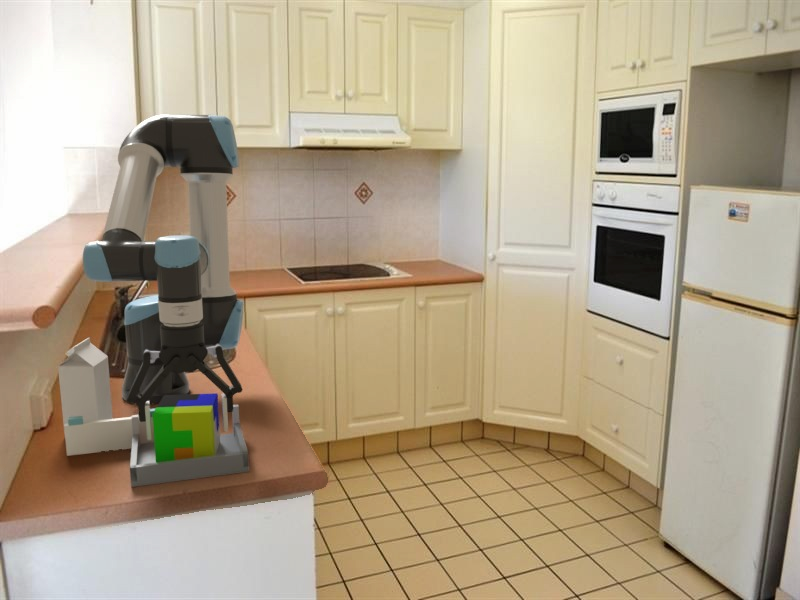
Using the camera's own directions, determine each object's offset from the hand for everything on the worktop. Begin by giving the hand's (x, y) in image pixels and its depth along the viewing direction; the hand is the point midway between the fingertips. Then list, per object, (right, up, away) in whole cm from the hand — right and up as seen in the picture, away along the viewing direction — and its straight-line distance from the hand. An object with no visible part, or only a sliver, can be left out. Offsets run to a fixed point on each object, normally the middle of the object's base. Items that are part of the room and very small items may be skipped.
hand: (188, 432), depth 132 cm
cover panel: (-15, -4, +5) cm, 17 cm away
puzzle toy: (0, -4, +1) cm, 4 cm away
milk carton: (-24, -2, +14) cm, 28 cm away
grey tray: (0, -5, 0) cm, 5 cm away
